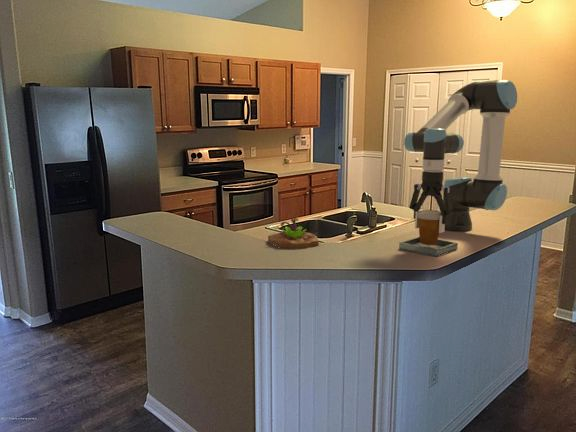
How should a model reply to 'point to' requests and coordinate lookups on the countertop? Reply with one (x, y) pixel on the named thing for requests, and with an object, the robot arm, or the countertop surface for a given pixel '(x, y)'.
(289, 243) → the plant
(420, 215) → the disposable coffee cup
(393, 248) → the countertop surface
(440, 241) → the grey square tray
